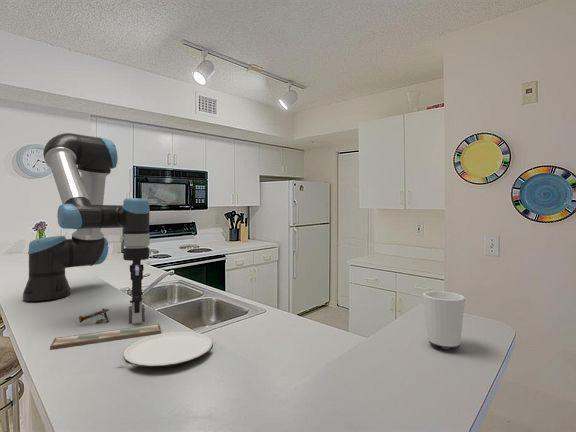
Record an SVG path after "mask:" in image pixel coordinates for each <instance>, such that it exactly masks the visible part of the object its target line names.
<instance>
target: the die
mask: <svg viewBox="0 0 576 432" xmlns="http://www.w3.org/2000/svg"><path fill="white" fill-rule="evenodd" d="M145 309H146V307H145V304H142V323H143V322H144V323H145V320H146V318H145V317H146V316H145V315H146V314H145V313H146V312H145V311H146V310H145ZM128 324H129V325H131V324H132V305H129V306H128Z"/></svg>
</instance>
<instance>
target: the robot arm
mask: <svg viewBox="0 0 576 432" xmlns="http://www.w3.org/2000/svg"><path fill="white" fill-rule="evenodd" d="M118 157H119V156H118V150H117V147H116V145H115V143H114V141H113V140H110V139H107V138H103V137H100V136H99V137H97V136H91V135H85V134H76V133H71V132H69V133H67V132H65V133H64V132H63V133H60V134H57V135H55V136H54V137H52V138H50V140H48V141H47V143H46V145H45V146H44V149H43V159H44V162H45V164H46V165H47V166H48V167H49V168H50V170H51V172H52V173H51V174H52V176H53V179H54V183H55V185H56V188H57V191H58V195H59V198H60V200H61V204H60V205H59V206H58V207H57V215H56V216H57V223H58V226H59V227H60V228H61V229H63V230H65V229H66V230H75V231H74V232H72V233H71V238H66V236H64V235H57V236H48V237H41V238H37V239H33V240H31V241H30V242H29V244H28V252H27V254H28V279H27V281H26V285H25V288H24V289H23V293H22V300H24V301H27V302H28V301H29V302H38V301H39V302H40V301H48V300H55V299H60V298H64V297H67V296H70V295H71V286H70V284H69V281H68V278H67V277H66V269H67V268H68V269H69V268H75V267H76V268H77V267H88V266H89V267H92V266H95V265H101V264H102V263H104V262H105V260H106V258H107V256H108V253H109V241H108V239H107V238H106V237H105V234H104V233H103V232H101V231H102V230H101V229H121V228H122V229H123V231H122V232H123V233H122V234H123V236H121V238H120V239H121V241H123V247H124V248H123V252H122V253H123V254H122V258H123V260H125V261H132V263H131V264H130V265H129V272H130V281H131V295H132V296H131V300H129V304H131V306H132V324H140V323H143V322H142V305H143V303H142V302H143V297H142V296H143V295H144V294H143V293H144V292H143V291H142V289H143V288H142V285H143V283H142V280H143V279H144V275H143V273H144V264H141V263H142V262H141V261H145V260H149V259H150V247H148V246H150V244H151V243H150V213H151V212H150V211H151V210H150V201H149V200H148V199H147V198H139V197H138V198H137V197H135V198H132V197H131V198H130V197H128V198H125V199H124V200H123V203H122V204H121V205H120V204H119V205H118V204H116V205H115V204H113V205H112V204H104V199H105V189H106V177H107V176H109V175H110V174H111V171H112V169H116V168H117V165H118V160H119V159H118Z"/></svg>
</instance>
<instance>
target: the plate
mask: <svg viewBox="0 0 576 432" xmlns="http://www.w3.org/2000/svg"><path fill="white" fill-rule="evenodd" d="M212 346H213V341H212V339H211V337H209V336H208V335H206V334H204V333H200V332H192V331H171V332H163V333H160V334H153V335H149V336H147V337H144V338H142V339H138V340H136V341H135V342H133V343H132V344H130V345H128V347H127V348H126V349H125V350H124V352H123V357H124V360H125V361H127V362H128V363H129V364H131V365H134V366H135V365H136V366H139V367H147V368H155V367H156V368H158V367H168V366H175V365H181V364H183V363H184V364H185V363H188V362H191V361H194V360H196V359H198V358H200V357H202V356H204V355H206V354H207V353H208V352H209V351H210V350H211V349H212Z"/></svg>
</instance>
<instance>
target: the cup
mask: <svg viewBox="0 0 576 432" xmlns="http://www.w3.org/2000/svg"><path fill="white" fill-rule="evenodd" d="M422 299H423V300H422V301H423V308H424V317H425V318H424V319H425V328H426V337H427V340H428V343H429V344H430V346H433V347H436V346H439V347H440V348H441V349H443V350H449V348H452V349H459V348H460V346H461V339H462V332H463V331H462V330H463V320H464V310H465V301H466V297H465V296H464V295H462V294H460V293H456V292H452V291H451V292H450V291H442V290H441V291H440V290H439V291H438V290H432V291H426V292H423V293H422Z"/></svg>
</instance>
